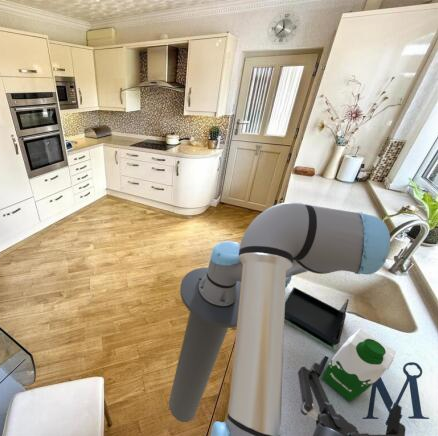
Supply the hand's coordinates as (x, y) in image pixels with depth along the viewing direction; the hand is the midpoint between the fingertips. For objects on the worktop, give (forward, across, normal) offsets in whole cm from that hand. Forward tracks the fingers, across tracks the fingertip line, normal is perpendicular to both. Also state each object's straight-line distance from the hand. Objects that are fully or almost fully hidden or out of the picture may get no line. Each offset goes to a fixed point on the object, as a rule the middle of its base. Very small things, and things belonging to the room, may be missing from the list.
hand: (357, 382), depth 55 cm
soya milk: (+10, 0, -14) cm, 17 cm away
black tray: (+27, -14, -14) cm, 33 cm away
